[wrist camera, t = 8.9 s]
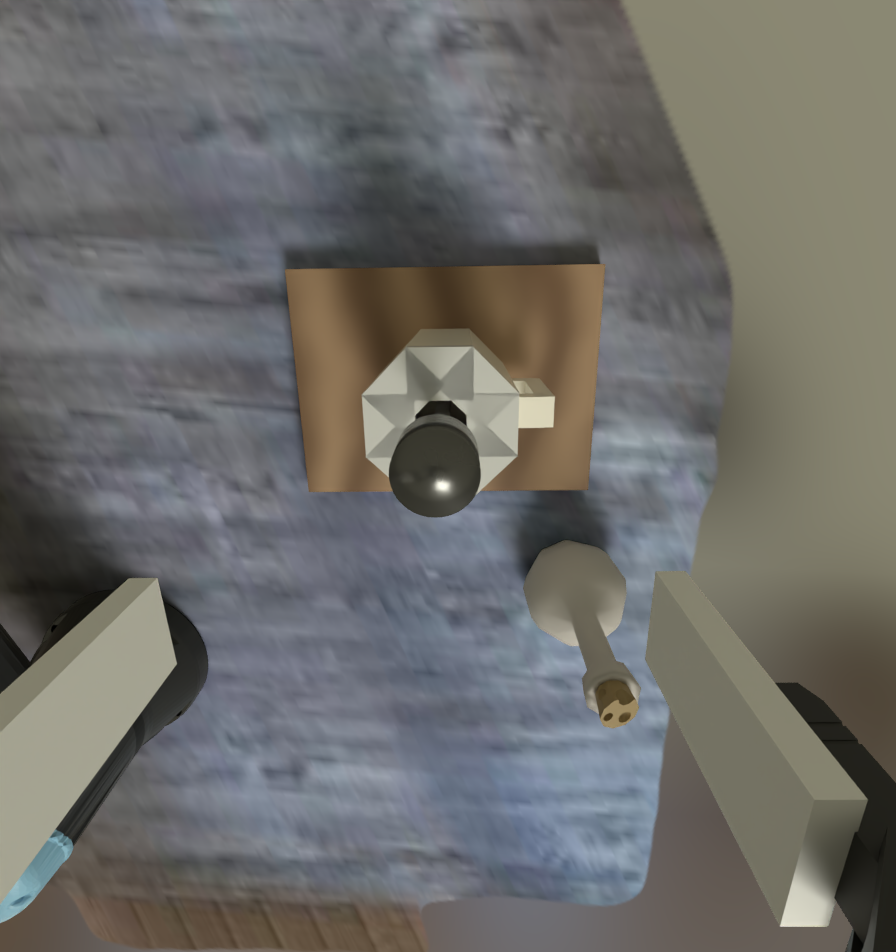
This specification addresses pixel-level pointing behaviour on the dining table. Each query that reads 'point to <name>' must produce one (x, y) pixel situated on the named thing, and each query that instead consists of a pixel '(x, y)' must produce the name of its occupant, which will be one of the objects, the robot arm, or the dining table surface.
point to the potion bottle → (585, 620)
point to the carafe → (454, 398)
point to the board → (445, 307)
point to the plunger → (435, 464)
